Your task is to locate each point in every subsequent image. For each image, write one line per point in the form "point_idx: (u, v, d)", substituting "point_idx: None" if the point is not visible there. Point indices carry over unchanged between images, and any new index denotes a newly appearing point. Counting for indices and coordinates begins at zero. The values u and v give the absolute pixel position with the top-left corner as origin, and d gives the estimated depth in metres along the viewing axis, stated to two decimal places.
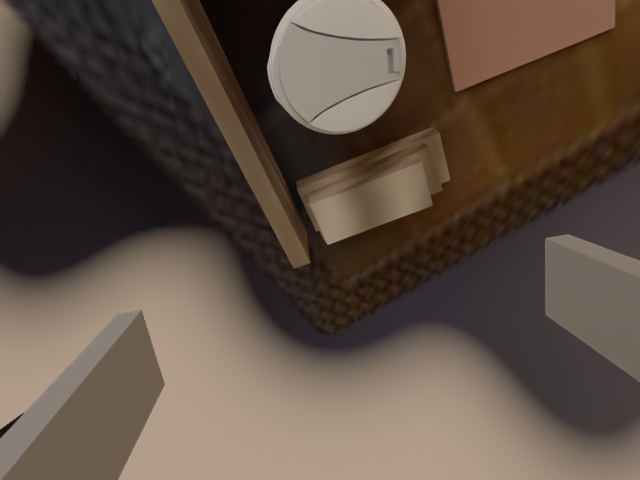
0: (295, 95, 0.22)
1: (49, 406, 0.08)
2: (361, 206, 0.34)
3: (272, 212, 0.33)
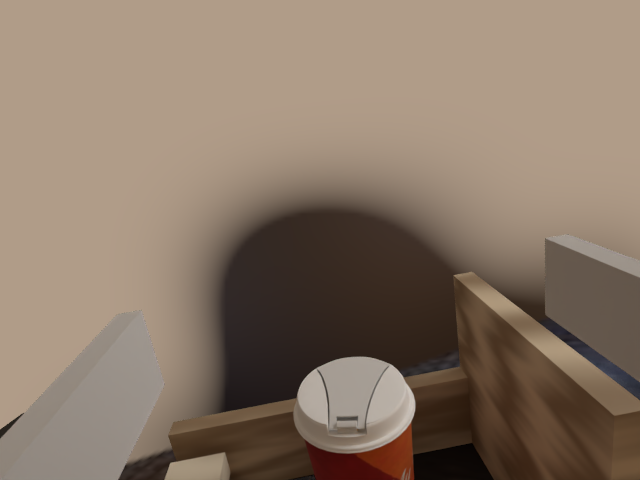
0: (340, 362, 0.27)
1: (49, 406, 0.08)
2: None
3: (239, 414, 0.34)
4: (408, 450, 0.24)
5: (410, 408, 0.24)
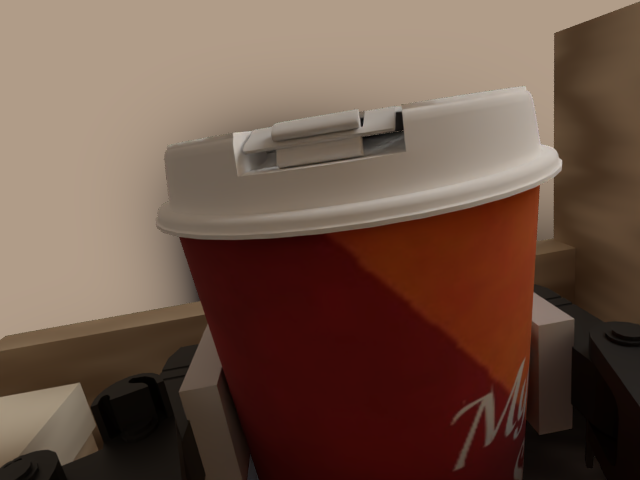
0: None
1: None
2: None
3: (130, 318, 0.18)
4: (532, 299, 0.07)
5: (545, 148, 0.07)
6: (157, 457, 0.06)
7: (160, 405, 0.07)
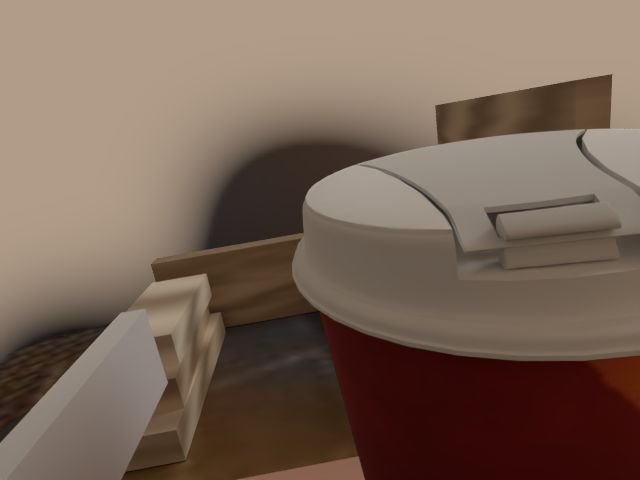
0: (422, 150, 0.10)
1: (55, 403, 0.08)
2: (167, 298, 0.28)
3: (222, 249, 0.35)
4: None
5: None
6: None
7: None
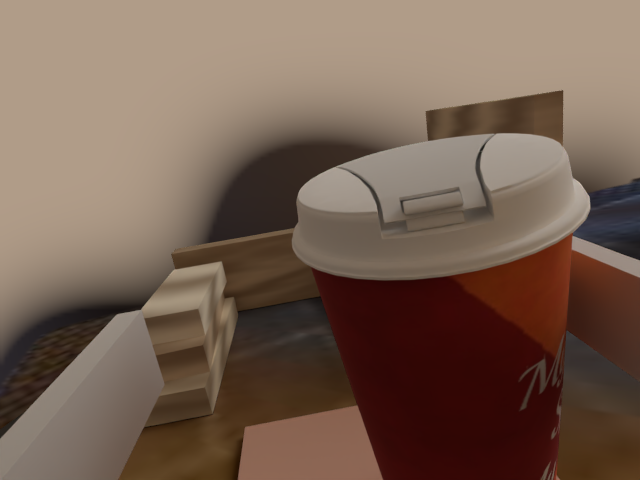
0: (383, 153, 0.13)
1: (49, 406, 0.08)
2: (190, 281, 0.32)
3: (235, 240, 0.39)
4: (568, 292, 0.10)
5: (576, 186, 0.10)
6: None
7: None
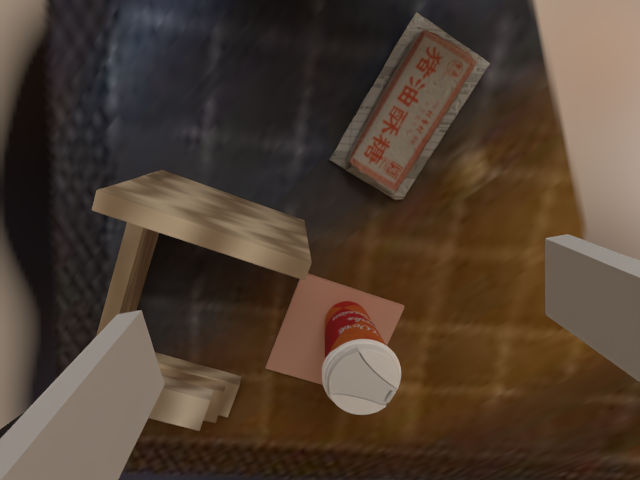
0: (334, 378, 0.37)
1: (49, 406, 0.08)
2: None
3: None
4: (385, 344, 0.40)
5: (389, 351, 0.37)
6: None
7: None
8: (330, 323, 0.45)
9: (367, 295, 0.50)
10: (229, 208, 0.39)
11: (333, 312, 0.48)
